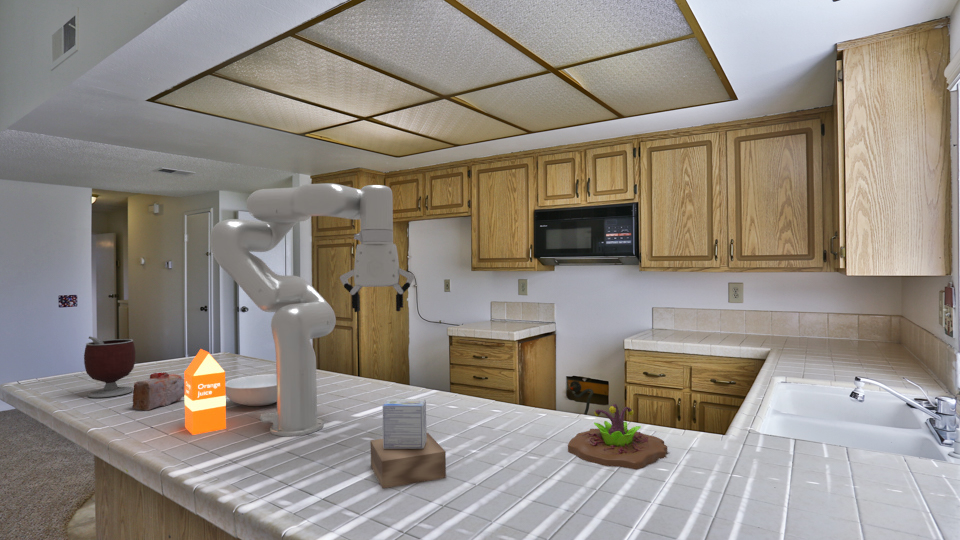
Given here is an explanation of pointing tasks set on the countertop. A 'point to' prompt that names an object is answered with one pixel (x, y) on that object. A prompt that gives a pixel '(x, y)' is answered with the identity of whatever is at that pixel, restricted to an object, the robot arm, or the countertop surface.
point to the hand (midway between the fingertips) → (377, 311)
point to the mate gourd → (109, 364)
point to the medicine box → (404, 424)
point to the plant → (617, 443)
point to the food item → (158, 391)
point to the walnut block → (408, 463)
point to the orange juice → (204, 395)
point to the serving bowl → (252, 390)
